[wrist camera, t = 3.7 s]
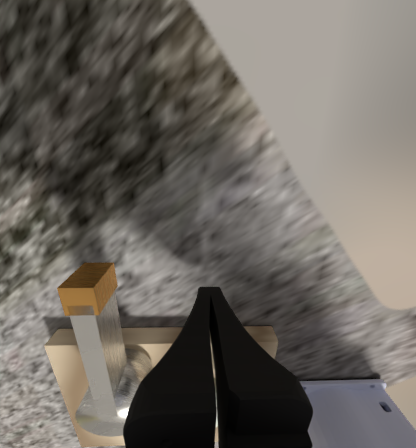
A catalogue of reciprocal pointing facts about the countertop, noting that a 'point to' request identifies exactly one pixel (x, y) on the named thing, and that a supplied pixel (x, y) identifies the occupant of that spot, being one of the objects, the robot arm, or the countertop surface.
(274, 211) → the countertop surface
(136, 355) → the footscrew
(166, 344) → the base
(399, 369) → the countertop surface
